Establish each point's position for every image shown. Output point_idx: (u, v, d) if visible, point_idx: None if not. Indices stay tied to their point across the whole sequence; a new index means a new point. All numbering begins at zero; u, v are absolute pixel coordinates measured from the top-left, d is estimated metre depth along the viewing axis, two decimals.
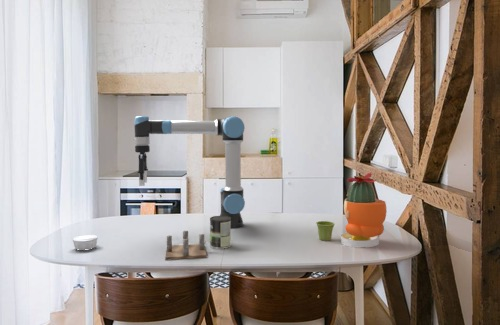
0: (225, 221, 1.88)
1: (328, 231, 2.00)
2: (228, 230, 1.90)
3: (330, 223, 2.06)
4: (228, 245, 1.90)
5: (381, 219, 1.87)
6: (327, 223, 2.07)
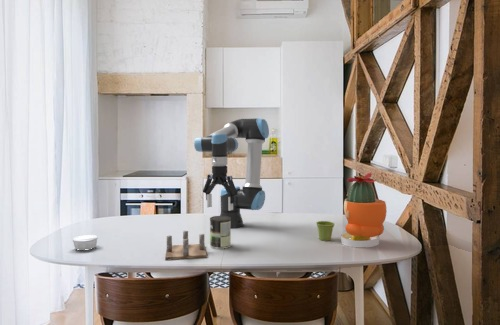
0: (225, 221, 1.88)
1: (328, 231, 2.00)
2: (228, 230, 1.90)
3: (330, 223, 2.06)
4: (228, 245, 1.90)
5: (381, 219, 1.87)
6: (327, 223, 2.07)
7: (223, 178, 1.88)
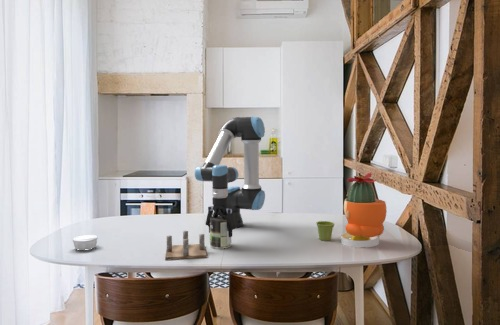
0: (225, 221, 1.88)
1: (328, 231, 2.00)
2: None
3: (330, 223, 2.06)
4: (228, 245, 1.90)
5: (381, 219, 1.87)
6: (327, 223, 2.07)
7: (223, 210, 1.89)
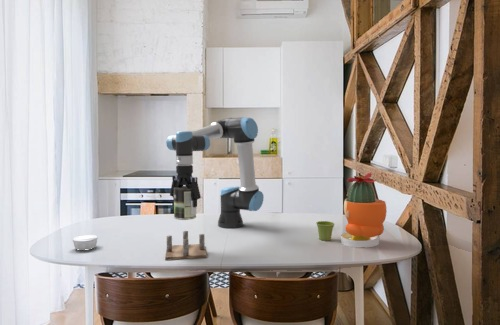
0: (189, 190, 1.76)
1: (328, 231, 2.00)
2: None
3: (330, 223, 2.06)
4: (193, 216, 1.78)
5: (381, 219, 1.87)
6: (327, 223, 2.07)
7: (188, 178, 1.77)
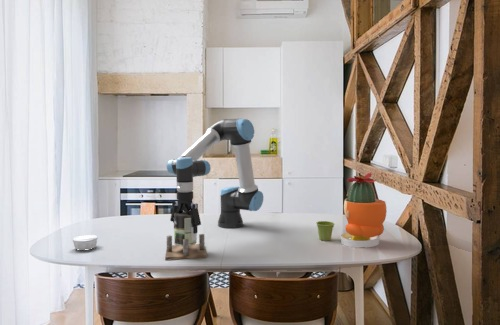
0: (189, 216, 1.77)
1: (328, 231, 2.00)
2: None
3: (330, 223, 2.06)
4: (193, 242, 1.79)
5: (381, 219, 1.87)
6: (327, 223, 2.07)
7: (188, 205, 1.78)
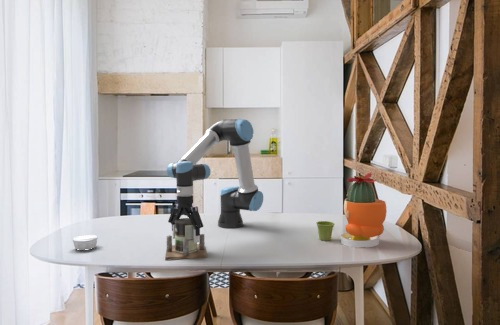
0: (190, 224, 1.77)
1: (328, 231, 2.00)
2: None
3: (330, 223, 2.06)
4: (194, 249, 1.79)
5: (381, 219, 1.87)
6: (327, 223, 2.07)
7: (188, 209, 1.78)
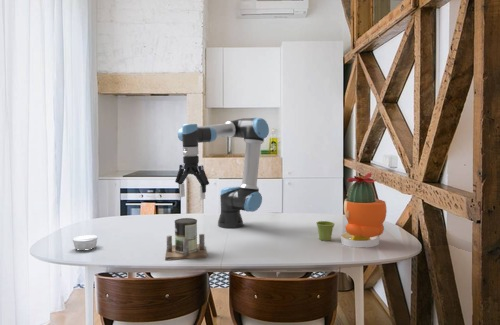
0: (190, 224, 1.77)
1: (328, 231, 2.00)
2: (194, 233, 1.79)
3: (330, 223, 2.06)
4: (194, 249, 1.79)
5: (381, 219, 1.87)
6: (327, 223, 2.07)
7: (194, 168, 1.90)
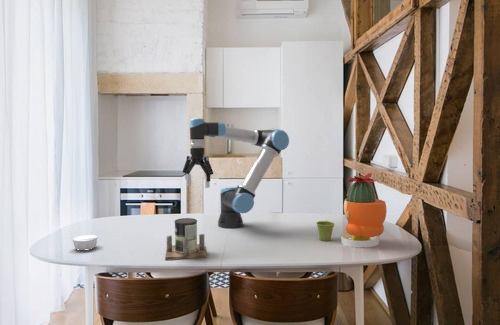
0: (190, 224, 1.77)
1: (328, 231, 2.00)
2: (193, 233, 1.79)
3: (330, 223, 2.06)
4: (194, 249, 1.79)
5: (381, 219, 1.87)
6: (327, 223, 2.07)
7: (200, 159, 2.07)
